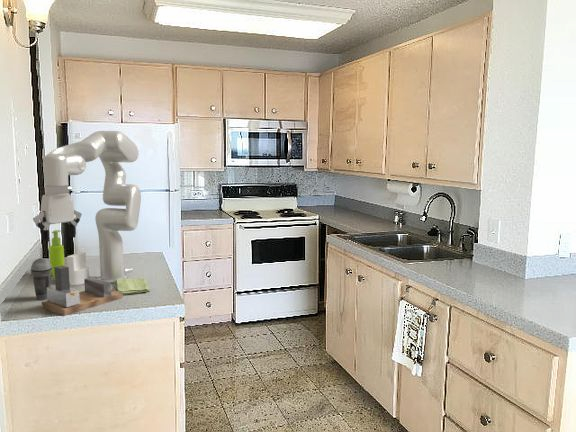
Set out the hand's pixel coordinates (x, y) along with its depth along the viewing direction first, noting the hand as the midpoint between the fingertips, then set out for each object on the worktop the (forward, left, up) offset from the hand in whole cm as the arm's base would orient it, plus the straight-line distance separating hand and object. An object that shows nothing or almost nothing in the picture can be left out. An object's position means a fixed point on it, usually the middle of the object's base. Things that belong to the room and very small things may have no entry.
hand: (59, 239), depth 168 cm
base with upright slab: (-23, -27, -26) cm, 44 cm away
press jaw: (0, +1, -23) cm, 23 cm away
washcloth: (-30, 0, -26) cm, 40 cm away
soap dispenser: (-25, -45, -26) cm, 58 cm away
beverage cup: (-2, -17, -26) cm, 31 cm away
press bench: (-8, 0, -26) cm, 27 cm away
